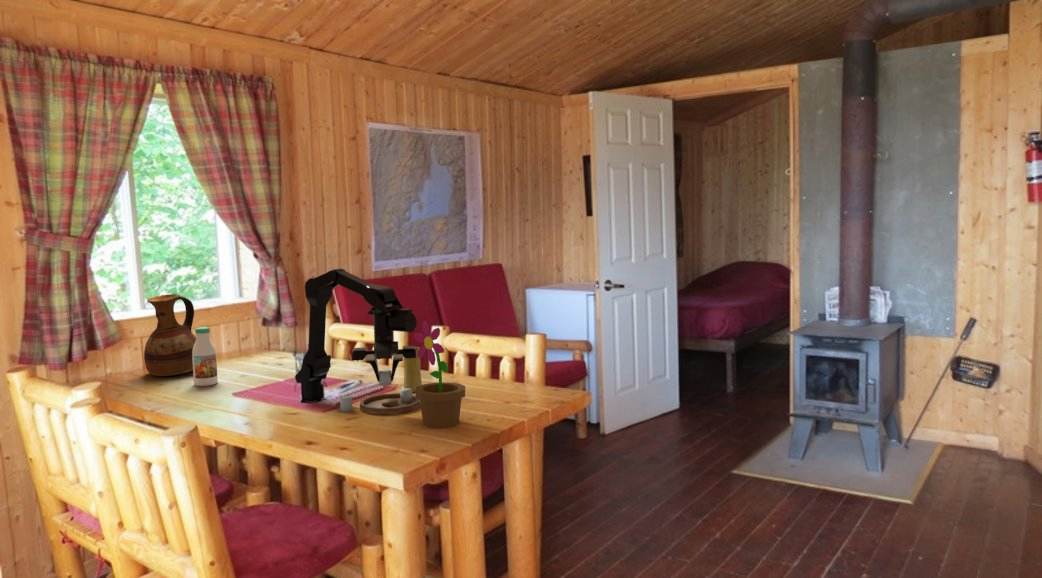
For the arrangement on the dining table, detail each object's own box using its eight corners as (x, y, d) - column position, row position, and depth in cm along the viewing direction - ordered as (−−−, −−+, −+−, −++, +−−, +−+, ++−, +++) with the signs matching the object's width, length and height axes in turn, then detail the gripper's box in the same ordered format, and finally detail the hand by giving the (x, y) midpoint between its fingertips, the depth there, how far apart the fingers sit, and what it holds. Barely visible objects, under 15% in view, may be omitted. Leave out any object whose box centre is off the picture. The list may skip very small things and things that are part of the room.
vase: (418, 393, 253) (417, 350, 252) (401, 392, 255) (399, 349, 253) (424, 388, 259) (423, 346, 258) (407, 387, 261) (406, 346, 259)
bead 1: (339, 412, 232) (339, 399, 231) (341, 409, 235) (340, 396, 235) (352, 411, 232) (351, 398, 232) (353, 408, 236) (352, 395, 235)
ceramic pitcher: (134, 376, 284) (128, 295, 281) (183, 365, 301) (178, 289, 298) (166, 382, 274) (161, 298, 270) (215, 370, 291) (210, 292, 287)
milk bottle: (189, 385, 268) (185, 329, 265) (205, 380, 275) (202, 325, 273) (206, 387, 265) (202, 330, 263) (222, 382, 272) (219, 326, 270)
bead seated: (400, 404, 238) (400, 391, 237) (400, 401, 241) (400, 388, 241) (412, 403, 238) (411, 390, 238) (412, 400, 242) (411, 388, 241)
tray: (357, 416, 227) (357, 410, 227) (361, 400, 245) (361, 394, 245) (420, 413, 229) (420, 407, 229) (419, 397, 248) (419, 392, 247)
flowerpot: (405, 424, 218) (402, 319, 215) (443, 413, 229) (440, 313, 225) (439, 434, 209) (436, 325, 205) (477, 422, 219) (475, 318, 216)
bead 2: (379, 386, 229) (378, 372, 229) (379, 383, 233) (379, 370, 232) (391, 385, 230) (390, 372, 229) (391, 382, 233) (391, 369, 233)
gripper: (349, 335, 220) (351, 389, 222) (415, 333, 223) (416, 386, 224) (352, 329, 231) (354, 380, 233) (415, 327, 233) (416, 377, 235)
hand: (385, 381), depth 231 cm, fingers closed on bead 2, 4 cm apart
